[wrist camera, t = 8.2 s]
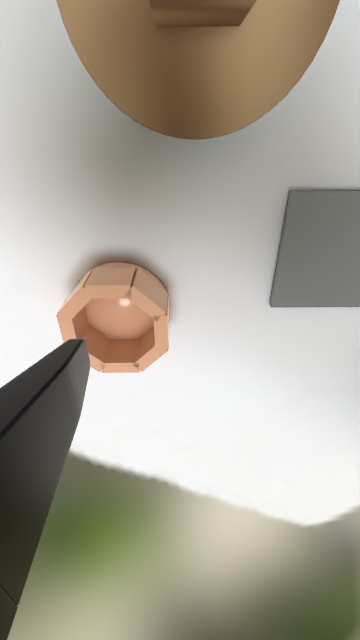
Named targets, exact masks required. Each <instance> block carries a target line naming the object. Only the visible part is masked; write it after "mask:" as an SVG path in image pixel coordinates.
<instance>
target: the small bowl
mask: <svg viewBox="0 0 360 640" xmlns="http://www.w3.org/2000/svg"><path fill="white" fill-rule="evenodd" d="M169 306H170V305H169V295H168V292H167V291H166V290H165V288H164V286H163V285H162V283H161V282H160V281H159V280H158V279H157V278H156V277H155V276H154V275H153V274H152V273H151V272H149V271H148V270H146V269H144V268H142V267H140V266H138V265H134V264H131V263H126V262H110V263H105V264H102V265H99V266H97V267H95V268H92V269H91V270H90V271H88V272H87V273H86V274H85V275H84V276H83V278H82V279H81V280H80V282H79V283H78V285H77V286H76V287H75V288H74V289H73V290H72V291H71V292H70V294H69V295H68V297H67V299H66V300H65V302H64V303H63V305H62V307H61V308H60V310H59V311H58V313H57V314H58V315H57V319H58V323H59V326H60V330H61V334H62V337H63V341H64V343H65V342H66V341H67V340H69V339H84V340H85V342H86V345H87V349H88V354H89V359H90V366H91V367H93V368H94V369H96V370H97V371H99V372H100V371H101V370H102V373H112V372H140V371H143V370H145V369H146V368H147V367H148V366H149V365H151V364H152V363H153V362H154V361H156V360H157V359H158V358H159V357H161V356H162V355H163V354H164V353H166V352H167V351H168V349H169V330H170V320H169Z"/></svg>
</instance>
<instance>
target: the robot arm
mask: <svg viewBox="0 0 360 640" xmlns="http://www.w3.org/2000/svg"><path fill="white" fill-rule="evenodd" d="M89 371H90V359H89V354H88V349H87V345H86V342H85V340H84V339H69V340H67V341H66V342H65V343H63V344H62V345H60V346H59V347H58V348H56V349H55V350H53V351H52V352H51V353H49V354H48V355H46V356H45V357H44V358H42V359H41V360H39V361H38V362H36V363H35V364H34V365H32V366H31V367H29V368H28V369H27V370H25V371H24V372H22V373H21V374H20V375H18V376H17V377H15V378H14V379H13V380H11V381H10V382H8V383H7V384H6V385H4V386H3V387H1V388H0V640H7V638H8V635H9V632H10V629H11V626H12V623H13V619H14V617H15V614H16V611H17V608H18V607H17V605H18V604H19V601H20V598H21V595H22V592H23V589H24V586H25V583H26V580H27V577H28V574H29V571H30V567H31V565H32V562H33V559H34V556H35V553H36V549H37V546H38V543H39V540H40V537H41V534H42V531H43V528H44V525H45V522H46V519H47V516H48V513H49V510H50V507H51V504H52V501H53V498H54V495H55V491H56V489H57V486H58V482H59V479H60V476H61V473H62V470H63V467H64V464H65V461H66V458H67V455H68V452H69V449H70V446H71V443H72V440H73V437H74V434H75V431H76V428H77V425H78V422H79V418H80V415H81V410H82V406H83V401H84V396H85V391H86V386H87V381H88V376H89Z"/></svg>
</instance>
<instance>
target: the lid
mask: <svg viewBox="0 0 360 640" xmlns="http://www.w3.org/2000/svg"><path fill="white" fill-rule="evenodd" d="M339 1H340V0H57V4H58V7H59V10H60V14H61V17H62V20H63V23H64V25H65V28H66V30H67V32H68V35H69V37H70V40H71V42H72V44H73V46H74V48H75V50H76V52H77V54H78V56H79V58H80V60H81V62H82V64H83V65H84V67H85V68H86V70H87V71H88V73H89V74H90V76H91V77H92V79H93V80H94V82H95V83H96V84H97V85H98V87H99V88H100V89H101V90H102V91H103V93H104V94H105V95H106V96H107V97H108V98H109V99H110V100H111V101H112V102H113V103H114V104H115V105H116V106H117V107H118V108H119V109H120V110H121V111H122V112H124V113H125V114H126V115H128V116H129V117H131V118H132V119H133V120H135V121H136V122H138V123H140V124H142V125H143V126H145V127H147V128H149V129H151V130H153V131H156V132H159V133H161V134H164V135H168V136H172V137H177V138H183V139H206V138H214V137H218V136H222V135H226V134H229V133H232V132H234V131H237V130H239V129H242V128H244V127H245V126H247V125H249V124H251V123H252V122H254V121H256V120H258V119H259V118H260V117H262V116H263V115H264V114H266V113H267V112H268V111H270V110H271V109H272V108H273V107H274V106H275V105H277V104H278V103H279V102H280V101H281V100H282V99H283V98H284V97H285V96H286V95H287V94H288V93H289V91H290V90H291V89H292V88H293V87H294V86H295V84H296V83H297V82H298V81H299V80H300V78H301V77H302V75H303V74H304V72H305V71H306V70H307V68H308V67H309V65H310V64H311V62H312V61H313V59H314V57H315V55H316V53H317V52H318V50H319V48H320V46H321V44H322V43H323V41H324V39H325V36H326V34H327V32H328V29H329V27H330V25H331V23H332V20H333V18H334V15H335V12H336V9H337V6H338V4H339Z"/></svg>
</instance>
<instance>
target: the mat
mask: <svg viewBox="0 0 360 640" xmlns="http://www.w3.org/2000/svg"><path fill="white" fill-rule="evenodd" d="M270 306H271V307H360V190H332V191H290V193H289V199H288V204H287V210H286V215H285V221H284V227H283V232H282V238H281V243H280V249H279V255H278V260H277V266H276V272H275V277H274V283H273V288H272V294H271V300H270Z"/></svg>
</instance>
